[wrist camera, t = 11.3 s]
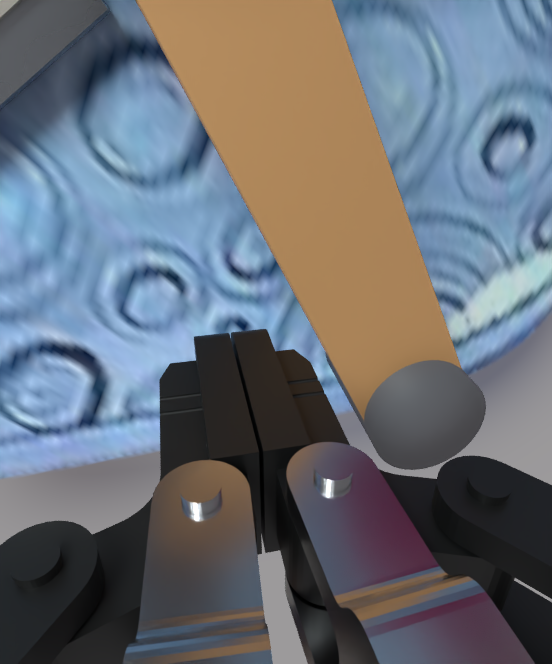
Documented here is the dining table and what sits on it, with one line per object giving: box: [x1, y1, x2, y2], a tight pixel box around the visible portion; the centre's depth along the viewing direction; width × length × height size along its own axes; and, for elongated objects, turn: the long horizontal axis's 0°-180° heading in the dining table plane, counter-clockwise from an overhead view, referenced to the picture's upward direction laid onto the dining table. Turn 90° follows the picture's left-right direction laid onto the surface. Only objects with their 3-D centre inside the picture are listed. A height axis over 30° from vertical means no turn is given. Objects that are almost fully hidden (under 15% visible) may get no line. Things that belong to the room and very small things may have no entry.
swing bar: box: [135, 0, 486, 470], centre depth 12 cm, size 16×3×4 cm, turn 27°
